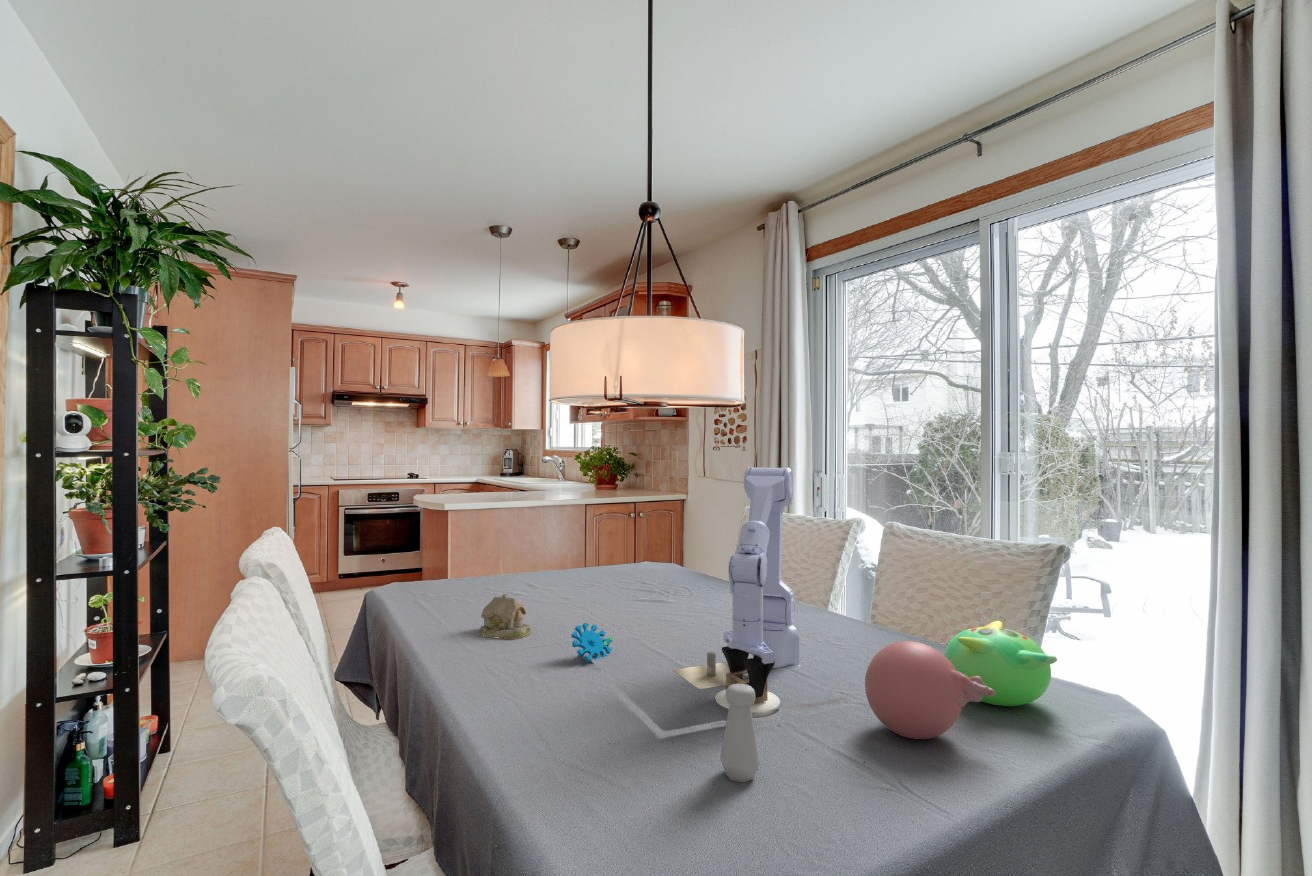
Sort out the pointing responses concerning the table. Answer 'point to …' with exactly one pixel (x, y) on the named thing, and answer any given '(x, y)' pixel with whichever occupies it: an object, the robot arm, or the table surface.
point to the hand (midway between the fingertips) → (747, 690)
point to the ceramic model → (504, 619)
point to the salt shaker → (740, 735)
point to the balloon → (918, 690)
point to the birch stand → (706, 673)
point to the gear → (591, 642)
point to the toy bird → (1002, 663)
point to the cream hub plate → (756, 707)
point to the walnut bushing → (738, 679)
